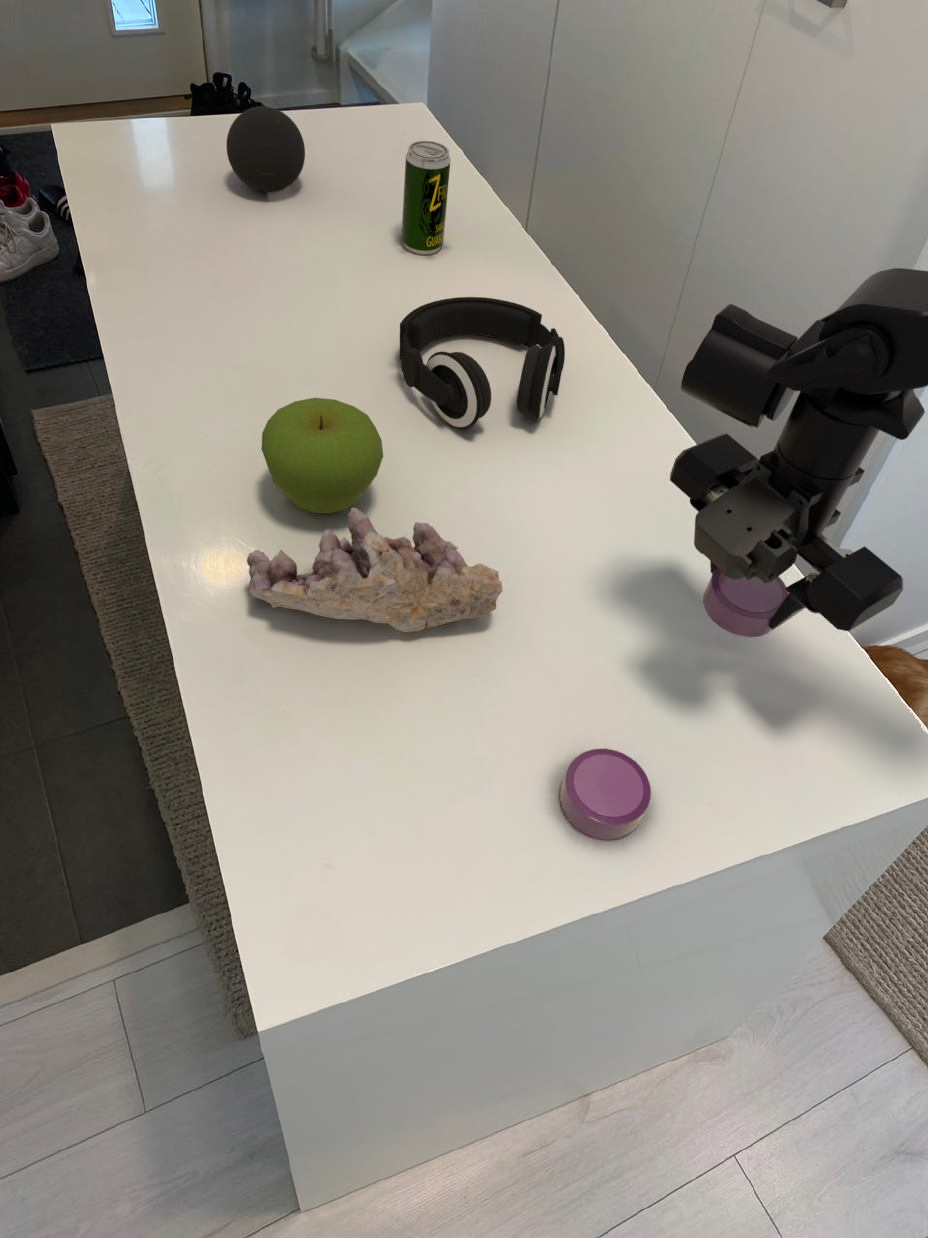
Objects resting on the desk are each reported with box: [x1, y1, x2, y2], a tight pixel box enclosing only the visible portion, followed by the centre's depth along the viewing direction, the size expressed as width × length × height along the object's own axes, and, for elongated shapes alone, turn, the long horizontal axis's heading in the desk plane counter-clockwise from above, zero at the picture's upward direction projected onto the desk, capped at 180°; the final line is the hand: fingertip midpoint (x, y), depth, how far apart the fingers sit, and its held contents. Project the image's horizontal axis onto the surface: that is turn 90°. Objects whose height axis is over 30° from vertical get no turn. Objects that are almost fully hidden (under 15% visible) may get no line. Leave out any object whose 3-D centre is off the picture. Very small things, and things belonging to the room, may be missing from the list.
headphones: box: [399, 296, 566, 430], centre depth 100 cm, size 18×8×20 cm
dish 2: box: [702, 567, 789, 638], centre depth 77 cm, size 6×6×2 cm
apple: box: [261, 397, 384, 514], centre depth 85 cm, size 11×10×10 cm
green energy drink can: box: [401, 140, 451, 256], centre depth 116 cm, size 5×5×12 cm
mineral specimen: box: [246, 507, 503, 633], centre depth 78 cm, size 20×10×10 cm
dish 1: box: [559, 748, 652, 841], centre depth 70 cm, size 6×6×2 cm
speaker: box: [226, 106, 306, 193], centre depth 122 cm, size 10×10×10 cm
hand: (744, 598), depth 77 cm, fingers closed on dish 2, 6 cm apart
